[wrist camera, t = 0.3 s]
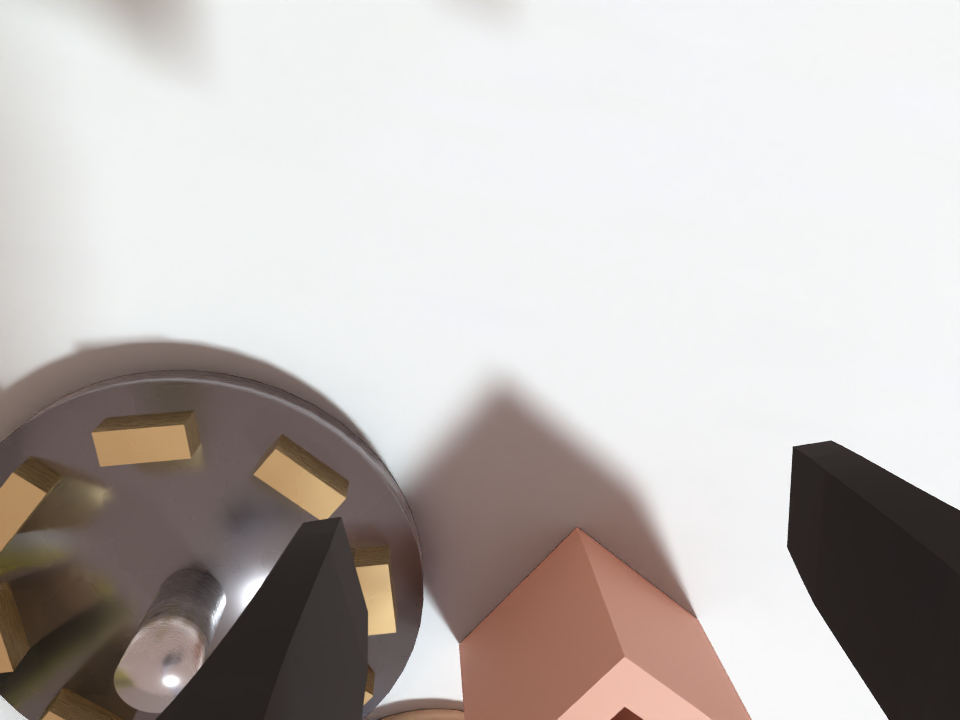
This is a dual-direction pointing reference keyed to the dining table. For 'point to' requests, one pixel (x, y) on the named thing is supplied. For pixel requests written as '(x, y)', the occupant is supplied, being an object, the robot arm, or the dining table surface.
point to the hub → (178, 537)
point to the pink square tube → (592, 648)
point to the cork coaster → (428, 715)
